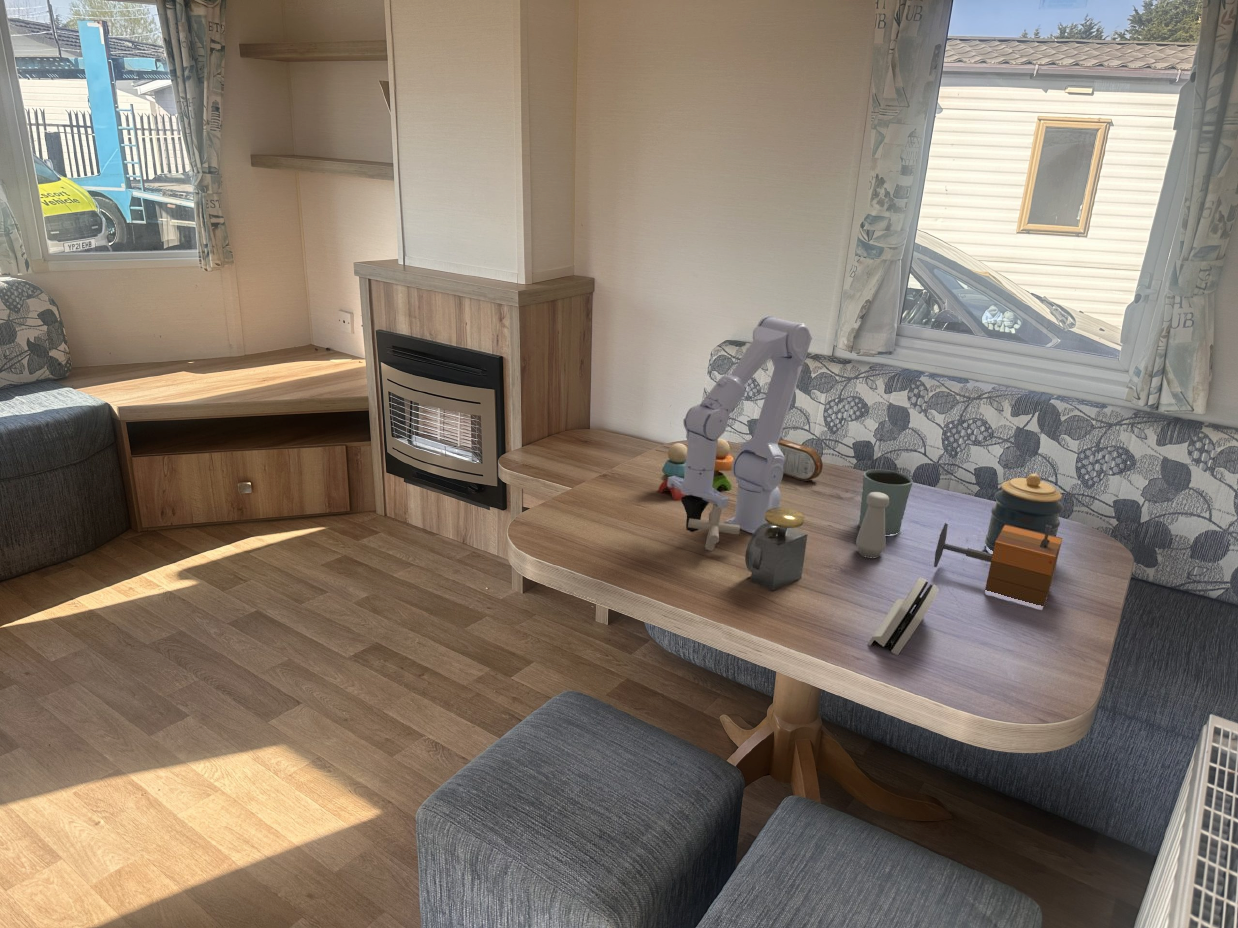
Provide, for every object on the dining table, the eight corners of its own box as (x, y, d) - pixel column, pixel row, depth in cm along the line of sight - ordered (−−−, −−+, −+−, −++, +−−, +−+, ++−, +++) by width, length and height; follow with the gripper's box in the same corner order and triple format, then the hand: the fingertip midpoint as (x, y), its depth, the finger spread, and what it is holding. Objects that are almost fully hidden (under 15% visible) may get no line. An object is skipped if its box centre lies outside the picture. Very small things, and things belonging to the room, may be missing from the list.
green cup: (852, 531, 188) (860, 479, 184) (858, 516, 197) (866, 465, 193) (901, 541, 185) (910, 488, 181) (905, 525, 194) (914, 473, 190)
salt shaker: (886, 552, 179) (896, 492, 175) (881, 562, 174) (892, 501, 170) (857, 545, 181) (866, 486, 177) (851, 555, 176) (861, 495, 172)
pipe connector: (735, 565, 171) (744, 520, 166) (684, 557, 171) (692, 512, 167) (733, 539, 180) (742, 496, 176) (685, 532, 180) (692, 489, 176)
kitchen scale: (775, 564, 170) (783, 502, 166) (807, 578, 165) (816, 515, 161) (742, 578, 163) (750, 514, 159) (775, 594, 158) (783, 527, 154)
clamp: (942, 561, 177) (955, 495, 172) (1049, 590, 167) (1066, 520, 162) (929, 580, 168) (942, 510, 163) (1042, 611, 158) (1059, 539, 154)
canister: (1059, 555, 183) (1079, 476, 177) (1038, 573, 173) (1058, 490, 168) (997, 536, 191) (1013, 459, 185) (973, 552, 182) (990, 472, 176)
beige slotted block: (892, 605, 157) (921, 563, 152) (916, 621, 155) (945, 578, 151) (866, 645, 143) (897, 599, 138) (892, 662, 142) (924, 617, 137)
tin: (820, 482, 217) (825, 450, 214) (814, 485, 215) (818, 453, 212) (770, 466, 226) (773, 435, 224) (763, 469, 224) (766, 437, 221)
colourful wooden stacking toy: (686, 470, 220) (691, 422, 216) (738, 491, 208) (744, 441, 204) (633, 483, 209) (637, 433, 205) (685, 506, 197) (690, 453, 193)
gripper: (659, 459, 175) (653, 522, 179) (714, 480, 165) (706, 546, 169) (683, 453, 179) (677, 515, 184) (738, 474, 170) (730, 538, 174)
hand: (692, 530), depth 177 cm, fingers closed, pressing on pipe connector
